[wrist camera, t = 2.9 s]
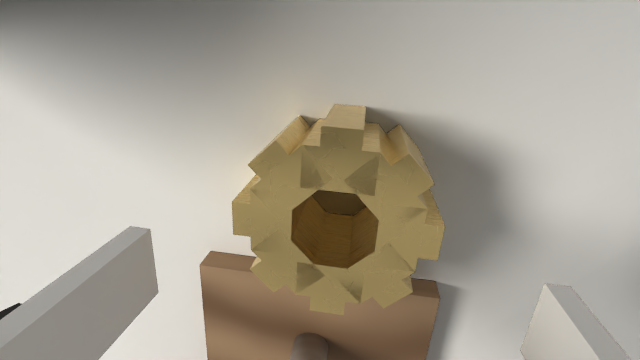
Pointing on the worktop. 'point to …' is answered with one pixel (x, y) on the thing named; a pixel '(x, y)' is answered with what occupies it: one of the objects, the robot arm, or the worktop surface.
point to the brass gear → (335, 229)
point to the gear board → (306, 320)
